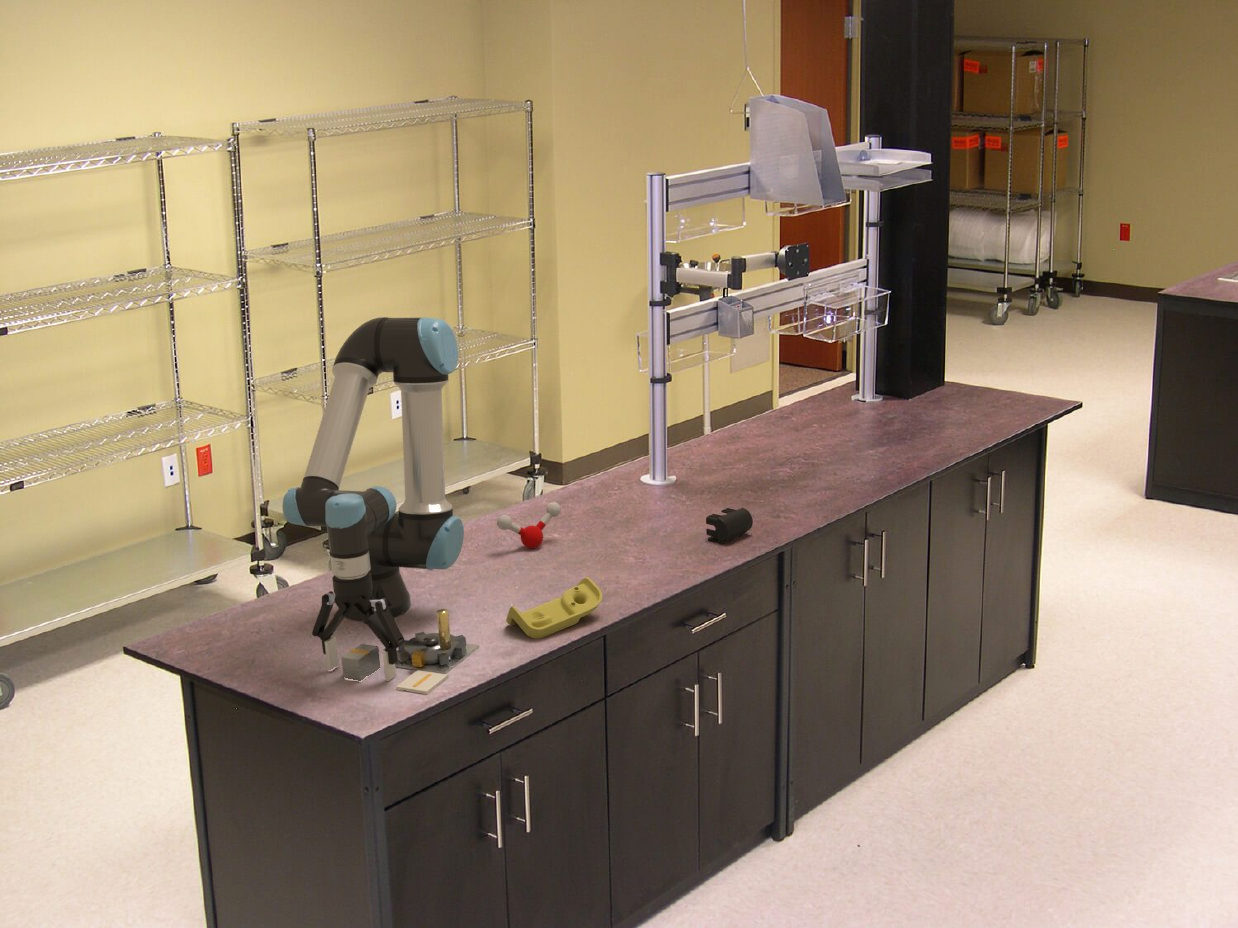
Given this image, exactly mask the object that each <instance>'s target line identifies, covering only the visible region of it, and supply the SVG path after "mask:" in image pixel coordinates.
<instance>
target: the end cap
mask: <svg viewBox="0 0 1238 928" xmlns="http://www.w3.org/2000/svg"><path fill="white" fill-rule="evenodd" d="M720 513H722V514H716V513H712V514H709V515H707V516H706V518H705V524H706V525H709V526H712V527H714V528H715V530H714V529H711V528H706V529H705V532H706V535H707V536H709V537H707V541H708V542H712V543H716V544H719V545H721V544H723V543H727V542H728V541H731V540H733V539H735V538H737V537H740V536H743V535H745V534H746V533H747V532H748V531H751V529H752V527H753V525H754V523H753V521H754V519H753V516H752V514H751V512H750V511H749V510H748V509H747V508H745V507H741V508H738V509H734V508H730V507H727V508H724V509H721V511H720Z"/></svg>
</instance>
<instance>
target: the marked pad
mask: <svg viewBox="0 0 1238 928" xmlns="http://www.w3.org/2000/svg"><path fill="white" fill-rule="evenodd" d="M447 679H449V674H448V673H446V674H440V673H433V672H427V671H420V670H415V672H413V673H412V674H411V675H409V676H408V677H407V678H405V679H404V680H402V682H400V683H399V684H397V685H396V686H395V690H397V689H398V690H399V691H403V690H406V691H405V692H411V693H417V694H424V695H428V694H430V693H431V692H432V691H433V690H434V689H436V688H437V687H439V686H440V685H441V684H442V683H443V682H445V681H446V680H447ZM398 690H397V691H398Z"/></svg>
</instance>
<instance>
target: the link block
mask: <svg viewBox="0 0 1238 928" xmlns="http://www.w3.org/2000/svg"><path fill="white" fill-rule="evenodd" d="M379 650H380V649H379V645H374V644H372V645H371V644H367V643H361V644H358V645H357V646H355V648H352V649H351V650H349V652H347V653H345V654H344V655H343V656H341V666H342V674H343V678H344V677H345V678H348V679H353V680H358V681H361V680H363V679H364V678H365V677H366V676H369V675H371V674H372V673H374V672H375V671H377V670H378V669H379V668H382V667H381V659H380V651H379ZM379 670H380V669H379ZM379 670H378V671H379ZM378 671H377V672H378ZM375 673H376V672H375ZM375 673H374V674H375ZM372 675H373V674H372ZM372 675H371V676H372Z"/></svg>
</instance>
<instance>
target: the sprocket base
mask: <svg viewBox="0 0 1238 928" xmlns="http://www.w3.org/2000/svg"><path fill="white" fill-rule="evenodd" d="M479 648H480V645H479V644H474V643H468V642H466V654H465V655H464V656H463V657H460V656H455V657H453V658H452V659H449V663H448V664H444V665H440V664H439V663H433V664H425V665H424V666H422V667H416V666H413V664H412V662H411V661H409V660H406V661H402V662H400V661H399V660H397V662H396V663H395V668H399V669H400V668H401V669H405V670H414V671H417V670H420V671H427V672H433V673H440V674H448V673H449V672H450V671H451V670H452V669H454V668H455V667H456V666H457V665H459V664H460V663H461V662H463V661H464V660H465V659H467V658H468V657H469V656H470V655H472V654H473V653H474V652H476V651H477V650H478V649H479ZM471 653H472V654H471ZM397 658H398V657H397Z"/></svg>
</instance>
